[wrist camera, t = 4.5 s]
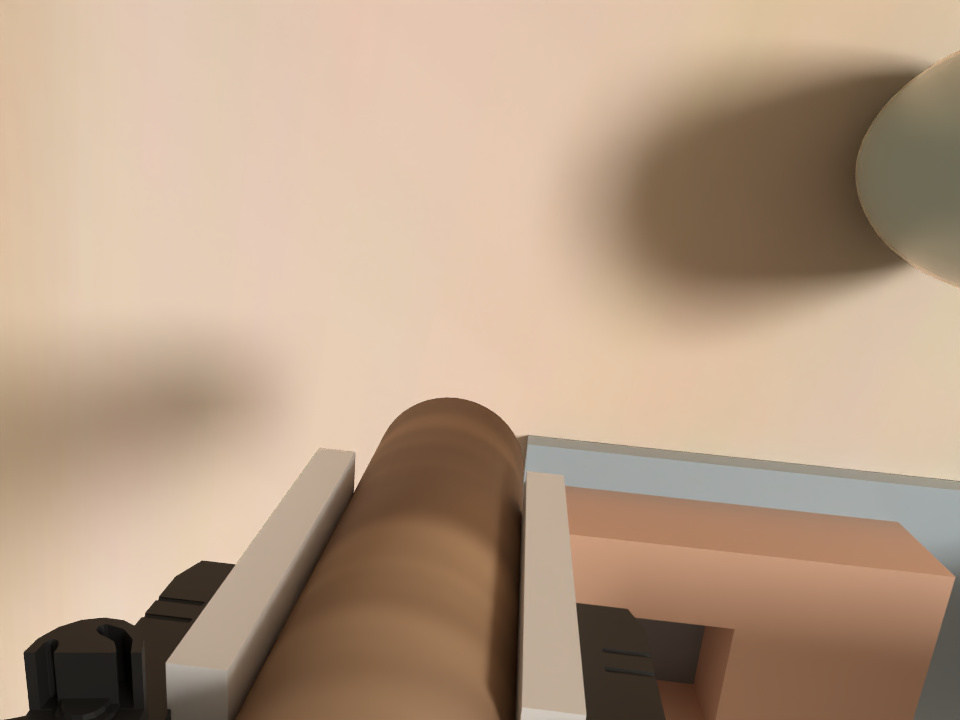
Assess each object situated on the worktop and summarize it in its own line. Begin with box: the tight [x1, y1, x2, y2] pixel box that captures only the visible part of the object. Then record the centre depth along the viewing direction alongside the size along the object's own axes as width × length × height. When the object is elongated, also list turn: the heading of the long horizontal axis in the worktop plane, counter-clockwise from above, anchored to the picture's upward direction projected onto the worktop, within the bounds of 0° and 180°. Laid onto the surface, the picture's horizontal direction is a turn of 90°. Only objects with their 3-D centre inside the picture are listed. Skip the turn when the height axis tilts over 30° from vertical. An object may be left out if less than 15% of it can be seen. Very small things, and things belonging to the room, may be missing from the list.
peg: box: [235, 398, 524, 720], centre depth 12 cm, size 4×4×12 cm
